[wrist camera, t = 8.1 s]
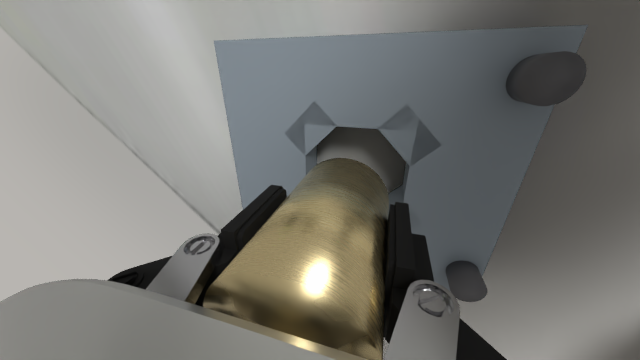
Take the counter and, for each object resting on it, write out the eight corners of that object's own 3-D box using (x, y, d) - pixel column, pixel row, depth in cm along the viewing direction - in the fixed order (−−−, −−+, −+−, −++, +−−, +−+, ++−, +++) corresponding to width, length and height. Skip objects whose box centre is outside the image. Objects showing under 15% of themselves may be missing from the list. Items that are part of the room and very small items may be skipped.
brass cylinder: (395, 163, 11) (396, 306, 4) (383, 243, 13) (371, 425, 6) (300, 153, 13) (184, 253, 6) (302, 228, 15) (220, 367, 8)
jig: (551, 33, 11) (620, 17, 8) (464, 269, 18) (480, 316, 15) (238, 44, 16) (195, 37, 13) (263, 229, 23) (239, 257, 19)
